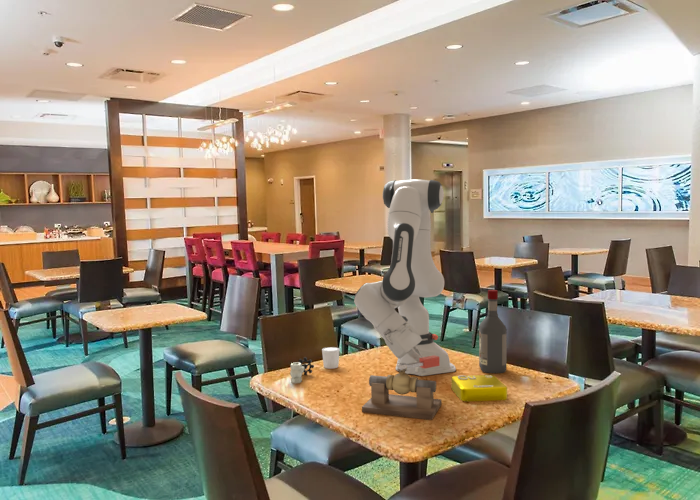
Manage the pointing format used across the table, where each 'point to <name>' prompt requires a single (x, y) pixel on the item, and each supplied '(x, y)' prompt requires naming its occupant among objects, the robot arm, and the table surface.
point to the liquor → (492, 339)
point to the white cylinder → (330, 357)
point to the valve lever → (420, 363)
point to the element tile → (478, 388)
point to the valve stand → (402, 397)
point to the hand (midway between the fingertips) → (421, 360)
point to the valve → (300, 370)
